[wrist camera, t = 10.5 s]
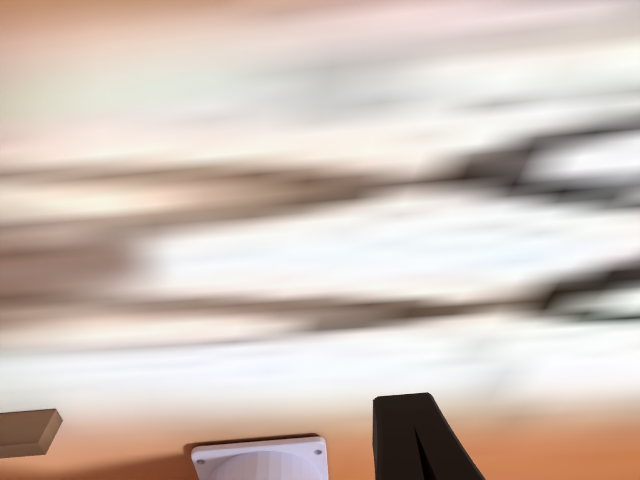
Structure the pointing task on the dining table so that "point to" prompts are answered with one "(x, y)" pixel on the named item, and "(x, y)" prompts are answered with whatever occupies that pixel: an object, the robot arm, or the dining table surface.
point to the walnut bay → (28, 432)
